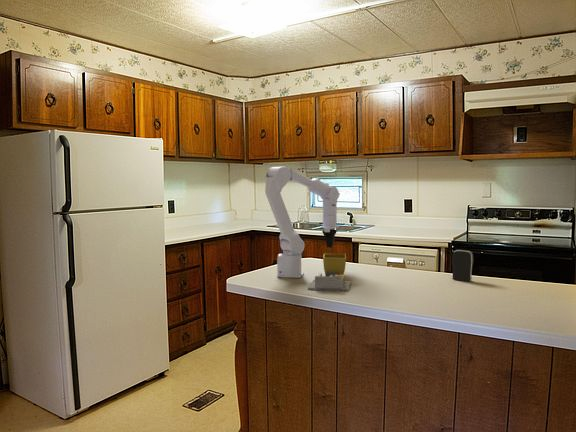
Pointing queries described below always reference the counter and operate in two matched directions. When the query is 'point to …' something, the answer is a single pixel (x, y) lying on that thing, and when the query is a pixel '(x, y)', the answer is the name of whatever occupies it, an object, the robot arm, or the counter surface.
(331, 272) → the plunger
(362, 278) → the counter surface
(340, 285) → the gauge housing
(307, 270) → the counter surface
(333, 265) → the flower pot
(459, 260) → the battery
